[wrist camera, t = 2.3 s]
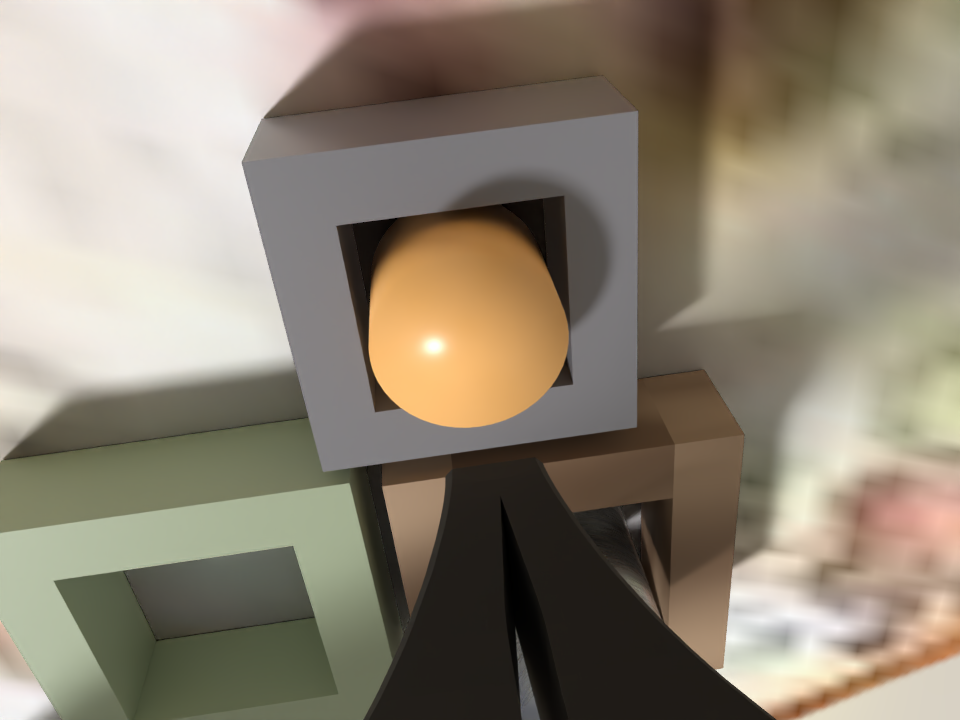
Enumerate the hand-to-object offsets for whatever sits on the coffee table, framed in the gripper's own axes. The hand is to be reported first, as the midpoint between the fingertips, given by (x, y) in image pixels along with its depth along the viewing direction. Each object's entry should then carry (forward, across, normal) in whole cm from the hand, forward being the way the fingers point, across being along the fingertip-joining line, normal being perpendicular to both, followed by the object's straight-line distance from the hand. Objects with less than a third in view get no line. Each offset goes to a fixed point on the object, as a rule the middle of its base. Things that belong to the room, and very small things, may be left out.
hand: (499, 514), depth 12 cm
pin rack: (+9, +8, +9) cm, 15 cm away
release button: (+8, 0, 0) cm, 8 cm away
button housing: (+9, 0, 0) cm, 9 cm away
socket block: (+9, -2, +9) cm, 13 cm away
